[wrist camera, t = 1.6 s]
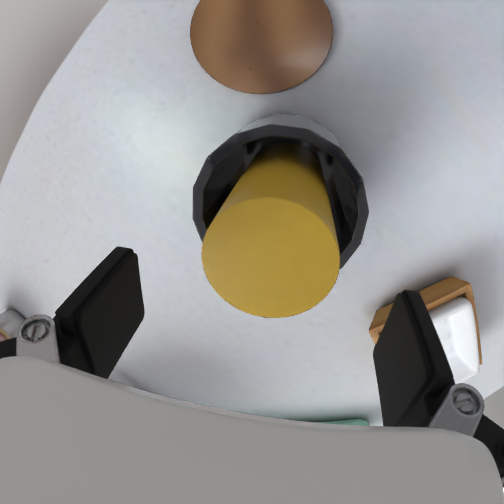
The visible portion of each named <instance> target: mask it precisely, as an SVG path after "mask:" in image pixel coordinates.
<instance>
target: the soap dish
mask: <svg viewBox="0 0 504 504" xmlns="http://www.w3.org/2000/svg"><path fill="white" fill-rule="evenodd" d="M418 292H419V293H420V294H421V297H422V299H423V301H424V303H425V306H426V308H427V310H428V312H429V315H430V317H431V319H432V322H433V324H434V326H435V329H436V331H437V334H438V336H439V339H440V341H441V344H442V346H443V349H444V352H445V354H446V357H447V359H448V362H449V365H450V368H451V370H452V373H453V376H454V377H453V378H454V381H455V384H458V383H461V382H463V381H465V380H467V379H469V378H471V377H473V376H474V375H476V374H477V373H478V372H479V369H480V365H481V364H482V356H481V345H480V337H479V328H478V321H477V315H476V309H475V303H474V298H473V293H472V288H471V284H470V283H469V282H466V281H463V280H461V279H458V278H455V277H448V278H446V279H444V280H442V281H439V282H437V283H435V284H433V285H431V286H429V287H427V288H425V289H423V290H420V291H418ZM392 306H393V303H391V304H389V305H387V306H385V307H382V308H380V309H378V310H377V311H376V314H375V316H374V318H373V321H372V323H371V325H370V328H369V333H370V335H371V337H372V339H373V341H374V343H375V345H376V343H377V341H378V338H379V336H380V334H381V332H382V329H383V327H384V325H385V323H386V320H387V318H388V316H389V313H390V311H391V308H392Z"/></svg>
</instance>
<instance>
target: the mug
mask: <svg viewBox="0 0 504 504" xmlns="http://www.w3.org/2000/svg"><path fill="white" fill-rule="evenodd" d="M279 142H290V143H295V144H298V145H301V146H303V147H305V148H306V149H308V150H309V151H310V152H311V153H312V154H313V155H314V156H315V157H316V158H317V160H318V161H319V163H320V165H321V168H322V171H323V175H324V179H325V184H326V188H327V193H328V197H329V202H330V206H331V211H332V216H333V221H334V225H335V230H336V235H337V241H338V246H339V252H340V269H341V268H342V267H343V266H344V265H345V263H346V262H347V261H348V260H349V258H350V257H351V256H352V254H353V253H354V252H355V251H356V249H357V248H358V247H359V245H360V244H361V241H362V238H363V234H364V230H365V226H366V222H367V218H368V214H369V209H368V203H367V198H366V192H365V187H364V182H363V179H362V176H361V175H360V173H359V172H358V170H357V169H356V167H355V165H354V164H353V162H352V161H351V159H350V158H349V156H348V155H347V153H346V152H345V150H344V149H343V148H342V146H341V145H340V143H339V142H338V141H337V139H336V138H335V137H334V135H333V134H332V133H331V132H330V131H329V130H328V129H326V128H325V127H323V126H322V125H320V124H319V123H317V122H315V121H313V120H311V119H309V118H307V117H302V116H298V115H292V114H276V115H271V116H267V117H264V118H261V119H258V120H254V121H252V122H251V123H249V124H248V125H247V126H245V127H244V128H242V129H241V130H240V131H238V132H237V133H235V134H234V135H233V136H231V137H230V138H229V139H228V140H227V141H225V142H224V143H223V144H222V145H221V146H220V147H218V148H217V149H216V150H215V151H214V152H212V153H211V154H210V155H209V156H208V157H207V158H206V161H205V163H204V165H203V167H202V169H201V171H200V173H199V175H198V178H197V180H196V182H195V184H194V186H193V221H194V223H195V226H196V228H197V231H198V233H199V236H200V238H201V240H202V243H203V240H204V236H205V234H206V232H207V230H208V228H209V226H210V225H211V223H212V221H213V220H214V218H215V217H216V215H217V213H218V212H219V210H220V209H221V207H222V205H223V204H224V202H225V201H226V199H227V198H228V196H229V195H230V193H231V191H232V190H233V188H234V187H235V185H236V184H237V182H238V181H239V179H240V178H241V176H242V175H243V173H244V171H245V170H246V168H247V167H248V165H249V164H250V162H251V161H252V159H253V158H254V156H255V155H256V154H257V153H258V152H259V151H260V150H262V149H263V148H265V147H266V146H268V145H271V144H274V143H279ZM264 318H268V317H264Z"/></svg>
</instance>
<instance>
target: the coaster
mask: <svg viewBox="0 0 504 504" xmlns="http://www.w3.org/2000/svg"><path fill="white" fill-rule="evenodd" d="M190 38H191V45H192V48H193V52H194V54H195V56H196V58H197V60H198V62H199V63H200V65H201V66H202V68H203V69H204V70H205V71H206V72H207V73H208V74H209V75H210V76H211V77H212V78H213V79H215V80H216V81H218V82H219V83H221V84H223V85H225V86H226V87H229V88H231V89H234V90H237V91H240V92H244V93H251V94H270V93H277V92H282V91H285V90H288V89H291V88H293V87H295V86H297V85H299V84H301V83H302V82H304V81H306V80H307V79H308V78H310V77H311V76H312V75H313V74H314V73H315V72H316V71H317V70H318V69H319V68H320V66H321V65H322V64H323V62H324V61H325V59H326V57H327V55H328V53H329V50H330V47H331V44H332V38H333V25H332V19H331V16H330V12H329V10H328V8H327V6H326V4H325V2H324V1H323V0H200V2H199V3H198V5H197V7H196V9H195V11H194V14H193V17H192V21H191V27H190Z"/></svg>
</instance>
